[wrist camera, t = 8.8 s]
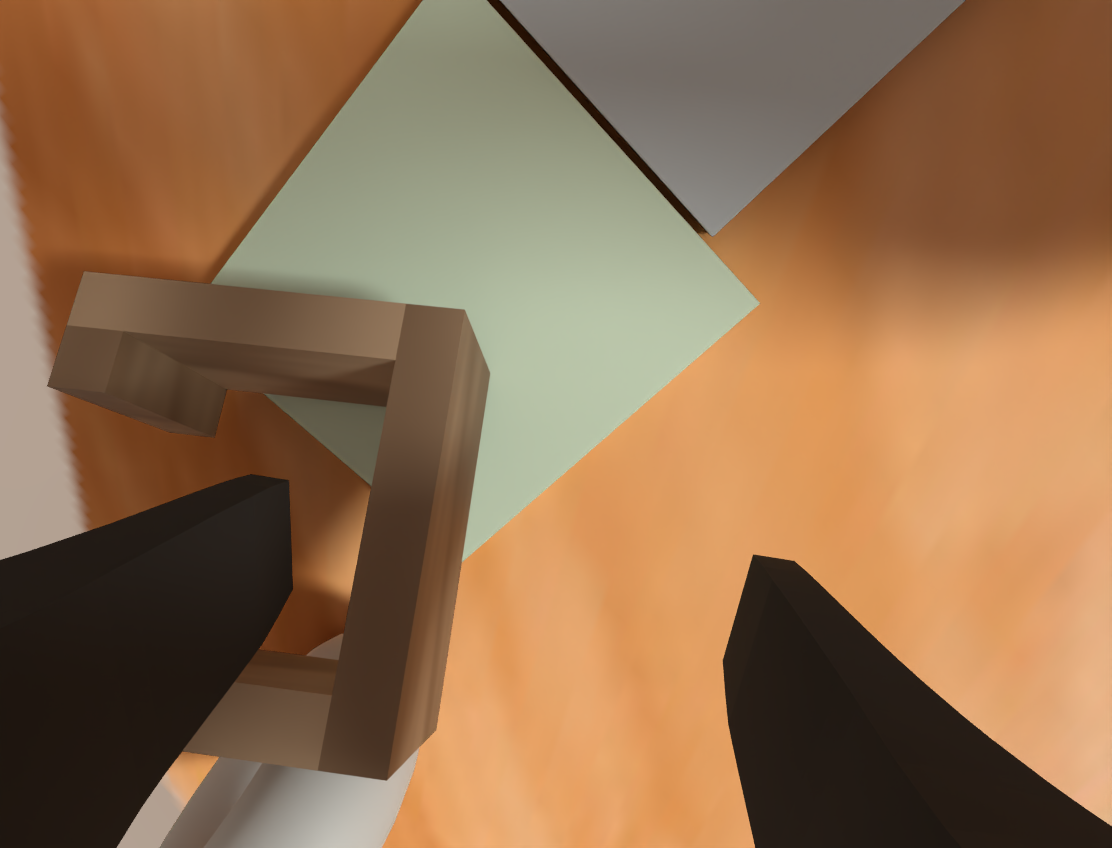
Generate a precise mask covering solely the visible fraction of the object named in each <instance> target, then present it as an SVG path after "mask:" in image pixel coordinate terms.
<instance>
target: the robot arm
mask: <svg viewBox="0 0 1112 848" xmlns="http://www.w3.org/2000/svg"><path fill="white" fill-rule="evenodd" d="M292 590H293V578H292V551H291V524H290V497H289V480H284V479H277V478H271V477H265V476H258V475H252V474H250V475H247V476H243V477H239V478H235V479H232V480H229V481H226V482H223V483H220V484H217V485H214V486H211V487H208V488H205V489H203V490H200V491H197V492H195V493H192V494H189V495H186V496H184V497H181V498H178V499H176V500H173V501H170V502H168V503H165V504H162V505H159V506H157V507H154V508H151V509H149V510H146V511H143V512H141V513H138V514H135V515H132V516H130V517H127V518H124V519H122V520H119V521H116V522H113V523H111V524H108V525H105V526H102V527H99V528H96V529H93V530H90V531H87V532H84V533H81V534H78V535H75V536H72V537H69V538H67V539H64V540H61V541H58V542H55V543H52V544H49V545H46V546H43V547H40V548H37V549H34V550H31V551H28V552H25V553H22V554H19V555H15V556H12V557H9V558H5V559H2V560H0V848H117V846H118V844H119V843H120V841H121V840H122V838H123V836H124V835H125V833H126V831H127V830H128V828H129V827H130V825H131V823H132V822H133V820H134V819H135V817H136V815H137V814H138V812H139V811H140V809H141V807H142V806H143V804H144V803H145V802H146V800H147V799H148V797H149V796H150V794H151V793H152V792H153V790H154V789H155V787H156V786H157V785H158V783H159V782H160V780H161V779H162V777H163V776H164V775H165V773H166V772H167V771H168V769H169V768H170V767H171V765H172V764H173V763H174V761H175V760H176V759H177V757H178V756H179V755H180V753H181V752H182V751H183V749H184V748H185V747H186V745H187V744H188V743H189V741H190V740H191V739H192V738H193V736H194V735H195V734H196V732H197V731H198V730H199V728H200V727H201V726H202V724H203V723H204V722H205V720H206V719H207V718H208V716H209V715H210V714H211V712H212V711H213V710H214V708H215V707H216V706H217V704H218V703H219V702H220V700H221V699H222V698H223V697H224V695H225V694H226V693H227V691H228V690H229V689H230V687H231V686H232V685H233V683H234V682H235V681H236V679H237V678H238V676H239V675H240V674H241V672H242V671H243V670H244V668H245V667H246V666H247V664H248V663H249V662H250V660H251V659H252V658H253V656H254V655H255V653H256V652H257V651H258V649H259V648H260V646H261V645H262V644H263V642H264V640H265V638H266V637H267V635H268V633H269V632H270V630H271V628H272V626H273V625H274V623H275V621H276V619H277V618H278V616H279V614H280V612H281V610H282V608H283V606H284V605H285V603H286V601H287V599H288V597H289V595H290V593H291V592H292ZM723 669H724V682H725V695H726V705H727V715H728V725H729V729H730V734H731V739H732V744H733V749H734V753H735V758H736V763H737V767H738V772H739V776H740V781H741V786H742V790H743V794H744V799H745V803H746V808H747V812H748V817H749V821H750V826H751V830H752V835H753V839H754V844H755V848H1112V826H1110V825H1109V824H1107V823H1106V822H1104V821H1103V820H1102V819H1100V818H1099V817H1097V816H1096V815H1094V814H1093V813H1091V812H1090V811H1088V810H1087V809H1085V808H1084V807H1082V806H1081V805H1080V804H1078V803H1077V802H1075V801H1074V800H1073V799H1071V798H1070V797H1068V796H1067V795H1066V794H1064V793H1063V792H1061V791H1060V790H1058V789H1057V788H1056V787H1054V786H1053V785H1052V784H1050V783H1049V782H1047V781H1046V780H1045V779H1043V778H1042V777H1041V776H1039V775H1038V774H1037V773H1035V772H1034V771H1033V770H1032V769H1030V768H1029V767H1028V766H1026V765H1025V764H1024V763H1022V762H1021V761H1020V760H1018V759H1017V758H1016V757H1014V756H1013V755H1012V754H1010V753H1009V752H1008V751H1006V750H1005V749H1004V748H1003V747H1001V746H1000V745H999V744H997V743H996V742H995V741H993V740H992V739H991V738H989V737H988V736H987V735H986V734H984V733H983V732H982V731H981V730H980V729H978V728H977V727H976V726H975V725H973V724H972V723H971V722H970V721H968V720H967V719H966V718H965V717H963V716H962V715H961V714H960V713H959V712H958V711H956V710H955V709H954V708H953V707H952V706H951V705H949V704H948V703H947V702H946V701H945V700H944V699H942V698H941V697H940V696H939V695H938V694H937V693H935V692H934V691H933V690H932V689H931V688H930V687H928V686H927V685H926V684H925V683H924V682H923V681H922V680H920V679H919V678H918V677H917V676H916V675H915V674H914V673H913V672H912V671H910V670H909V669H908V668H907V667H906V666H905V665H904V664H903V663H902V662H900V661H899V660H898V659H897V658H896V657H895V656H894V655H893V654H892V653H891V652H890V651H889V650H887V649H886V648H885V647H884V646H883V645H882V644H881V643H880V642H879V641H878V640H877V639H876V638H875V637H874V636H873V635H872V634H871V633H870V632H868V631H867V630H866V629H865V628H864V627H863V626H862V625H861V624H860V623H859V622H858V621H857V620H856V619H855V618H854V617H853V616H852V615H851V614H850V613H849V612H848V611H847V610H846V609H845V608H844V607H843V606H842V605H841V604H840V603H839V602H838V601H837V600H836V599H835V598H833V597H832V596H831V595H830V594H829V593H828V592H827V591H826V590H825V589H824V588H823V587H822V586H821V585H820V584H819V583H818V582H817V581H816V580H815V579H814V578H813V577H812V576H811V575H810V574H808V573H807V572H806V571H805V570H804V569H803V568H802V567H801V566H799V565H798V564H797V563H796V562H795V561H791V560H784V559H778V558H772V557H766V556H759V555H753V557H752V561H751V564H750V567H749V571H748V574H747V578H746V581H745V585H744V588H743V592H742V595H741V599H740V602H739V606H738V609H737V613H736V616H735V620H734V623H733V627H732V630H731V634H730V637H729V641H728V644H727V648H726V651H725V655H724V658H723Z"/></svg>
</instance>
